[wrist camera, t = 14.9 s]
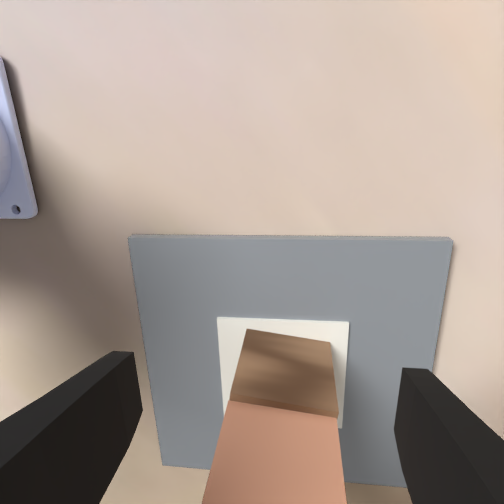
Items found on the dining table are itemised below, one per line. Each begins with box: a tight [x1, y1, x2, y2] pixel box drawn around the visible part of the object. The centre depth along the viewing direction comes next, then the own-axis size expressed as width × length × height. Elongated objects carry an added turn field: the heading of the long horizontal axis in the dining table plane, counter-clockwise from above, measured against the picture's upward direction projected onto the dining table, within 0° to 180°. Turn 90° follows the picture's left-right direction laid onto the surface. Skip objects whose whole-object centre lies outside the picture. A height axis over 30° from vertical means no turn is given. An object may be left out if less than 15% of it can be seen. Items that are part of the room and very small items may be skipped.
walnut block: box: [229, 329, 339, 419], centre depth 18 cm, size 4×4×5 cm
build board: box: [128, 234, 453, 488], centre depth 21 cm, size 16×16×1 cm
